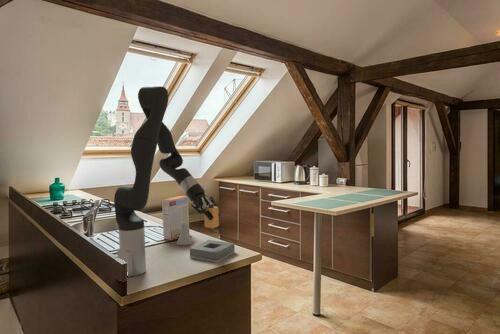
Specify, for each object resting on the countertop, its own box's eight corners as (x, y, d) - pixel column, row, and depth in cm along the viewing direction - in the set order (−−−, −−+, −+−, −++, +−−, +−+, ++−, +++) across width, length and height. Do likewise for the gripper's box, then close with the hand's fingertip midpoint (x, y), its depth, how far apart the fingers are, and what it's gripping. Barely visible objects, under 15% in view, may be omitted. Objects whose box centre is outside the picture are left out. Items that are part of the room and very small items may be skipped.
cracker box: (181, 233, 186) (180, 195, 185) (189, 234, 183) (188, 196, 182) (162, 239, 174) (161, 199, 173) (171, 240, 171) (169, 200, 170)
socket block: (217, 262, 139) (216, 252, 139) (189, 257, 146) (189, 248, 145) (234, 252, 151) (234, 243, 151) (208, 248, 158) (208, 239, 158)
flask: (185, 240, 171) (185, 221, 170) (195, 243, 166) (194, 223, 166) (174, 244, 165) (173, 224, 165) (183, 246, 161) (183, 226, 160)
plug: (213, 228, 145) (212, 205, 144) (204, 227, 147) (204, 204, 146) (218, 225, 149) (218, 203, 148) (210, 224, 151) (209, 202, 150)
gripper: (186, 184, 144) (210, 215, 139) (206, 181, 156) (229, 209, 151) (177, 196, 146) (200, 226, 142) (197, 192, 159) (219, 219, 154)
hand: (215, 217), depth 146 cm, fingers closed on plug, 4 cm apart
